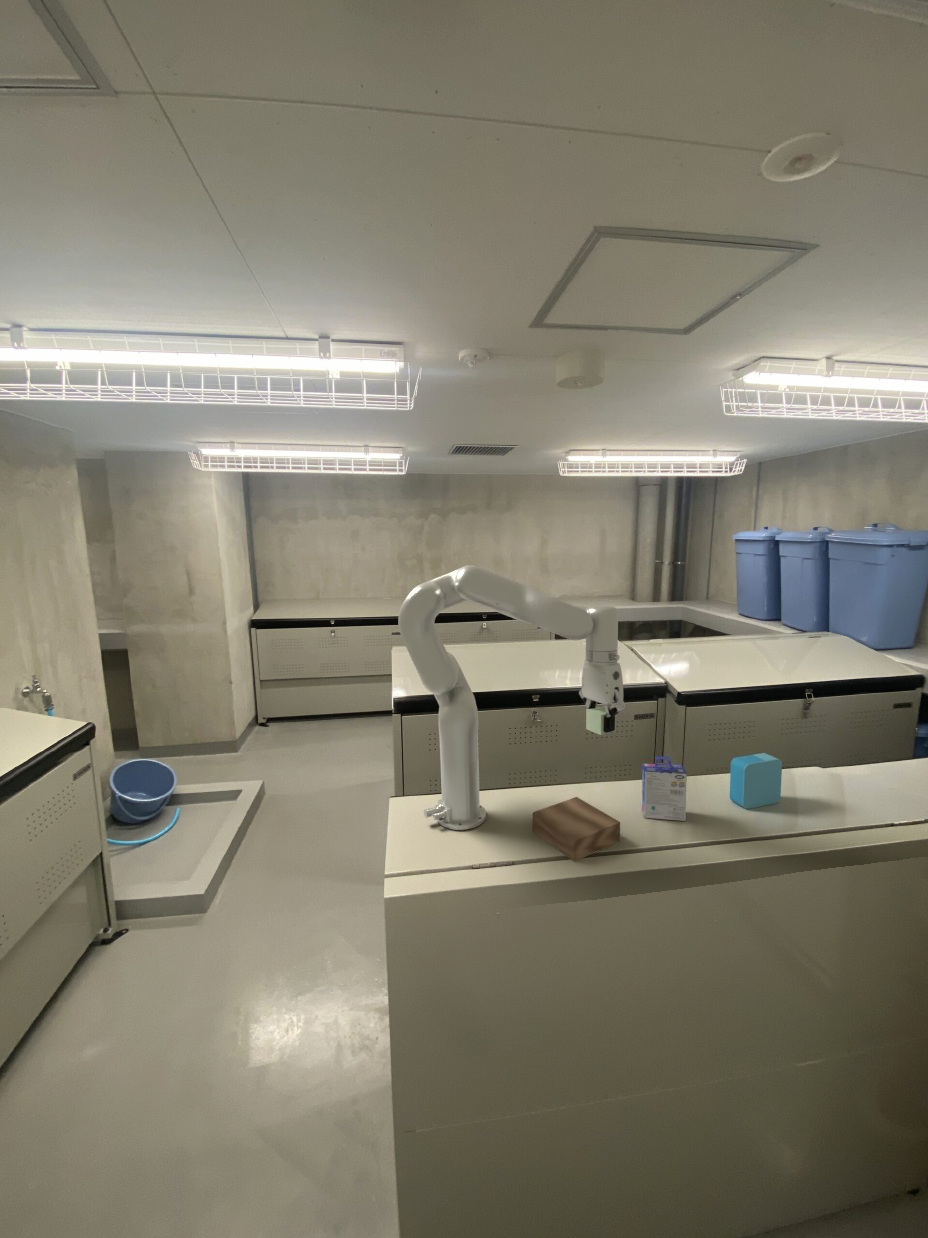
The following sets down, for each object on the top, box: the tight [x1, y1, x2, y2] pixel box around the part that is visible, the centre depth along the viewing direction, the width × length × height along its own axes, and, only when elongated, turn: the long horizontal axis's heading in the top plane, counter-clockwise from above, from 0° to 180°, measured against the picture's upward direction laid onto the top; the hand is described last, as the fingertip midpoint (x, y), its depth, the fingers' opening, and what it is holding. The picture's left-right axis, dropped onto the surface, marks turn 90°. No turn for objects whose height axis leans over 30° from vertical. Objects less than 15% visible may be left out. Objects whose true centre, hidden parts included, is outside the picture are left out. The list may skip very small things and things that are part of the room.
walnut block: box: [532, 796, 621, 862], centre depth 110 cm, size 14×14×5 cm
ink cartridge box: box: [641, 755, 688, 822], centre depth 118 cm, size 10×6×14 cm, turn 78°
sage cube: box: [585, 706, 617, 736], centre depth 118 cm, size 5×5×5 cm
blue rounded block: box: [729, 752, 783, 810], centre depth 122 cm, size 12×4×12 cm, turn 105°
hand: (600, 727), depth 118 cm, fingers closed on sage cube, 5 cm apart
